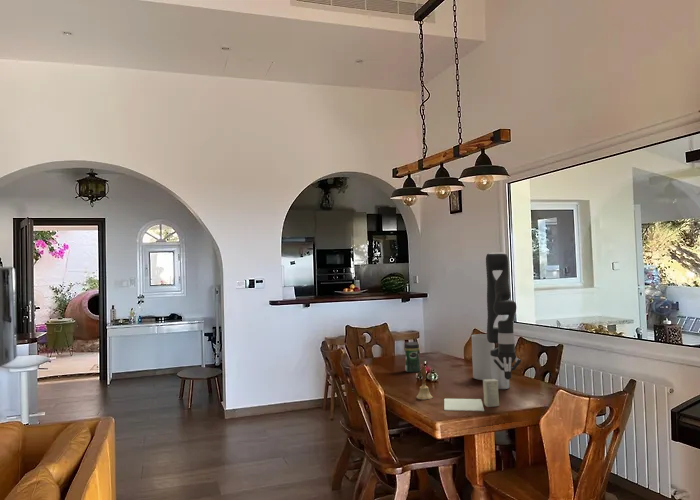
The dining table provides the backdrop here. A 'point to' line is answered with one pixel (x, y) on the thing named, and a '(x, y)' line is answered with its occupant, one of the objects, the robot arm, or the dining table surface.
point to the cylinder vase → (481, 356)
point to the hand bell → (424, 387)
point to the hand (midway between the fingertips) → (507, 379)
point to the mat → (463, 405)
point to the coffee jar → (412, 357)
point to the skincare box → (490, 392)
